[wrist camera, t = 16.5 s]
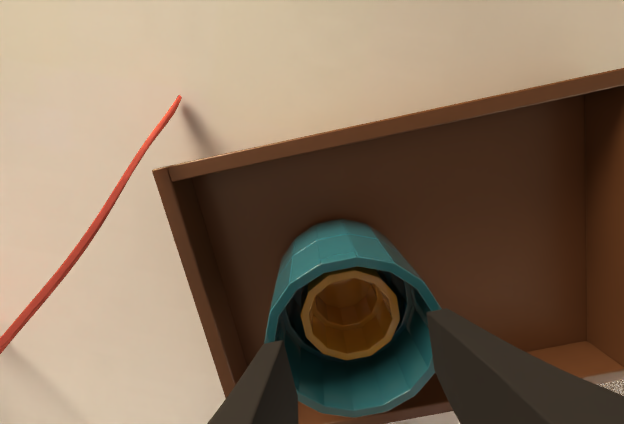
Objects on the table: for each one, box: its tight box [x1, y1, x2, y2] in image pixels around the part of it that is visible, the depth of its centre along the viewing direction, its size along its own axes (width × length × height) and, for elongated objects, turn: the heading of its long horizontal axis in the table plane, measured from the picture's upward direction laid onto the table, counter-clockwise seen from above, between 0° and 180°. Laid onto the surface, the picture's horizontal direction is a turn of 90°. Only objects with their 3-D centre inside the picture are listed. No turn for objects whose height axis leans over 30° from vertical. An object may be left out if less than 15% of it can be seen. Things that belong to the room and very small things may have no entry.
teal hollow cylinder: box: [264, 219, 442, 418], centre depth 12 cm, size 6×6×5 cm
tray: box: [152, 68, 624, 424], centre depth 14 cm, size 18×13×2 cm
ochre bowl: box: [300, 266, 400, 360], centre depth 13 cm, size 4×4×3 cm
